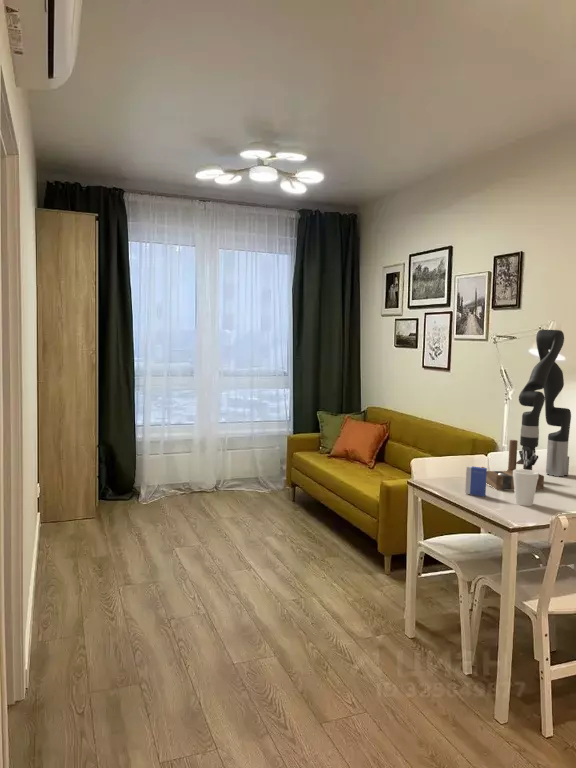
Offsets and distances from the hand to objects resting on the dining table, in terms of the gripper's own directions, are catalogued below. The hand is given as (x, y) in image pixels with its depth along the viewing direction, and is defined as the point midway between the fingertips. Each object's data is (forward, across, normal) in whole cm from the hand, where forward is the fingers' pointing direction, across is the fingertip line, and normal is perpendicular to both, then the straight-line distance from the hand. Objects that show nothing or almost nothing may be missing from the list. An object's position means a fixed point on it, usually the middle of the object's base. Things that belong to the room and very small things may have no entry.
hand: (527, 473), depth 263 cm
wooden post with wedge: (+6, +16, -5) cm, 18 cm away
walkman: (+6, -13, +30) cm, 33 cm away
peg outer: (+6, 0, +12) cm, 13 cm away
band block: (+6, 0, +6) cm, 8 cm away
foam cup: (+6, -27, +16) cm, 32 cm away
